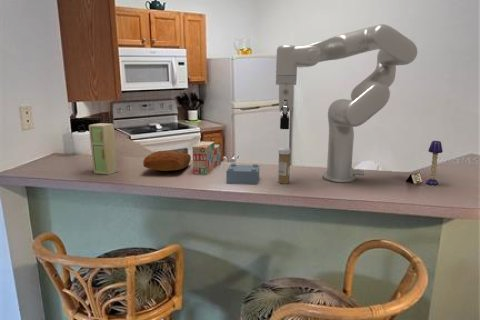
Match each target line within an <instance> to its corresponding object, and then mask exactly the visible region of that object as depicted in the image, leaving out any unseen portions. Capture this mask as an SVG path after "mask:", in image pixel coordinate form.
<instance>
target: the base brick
mask: <svg viewBox="0 0 480 320" xmlns="http://www.w3.org/2000/svg"><path fill="white" fill-rule="evenodd" d="M258 164H259V163H252V164H236V163H235V162H231V163H230V164H229V166H228V167H227V169H226V175H225V176H226V184H239V185H258V183H259V181H260V165H258Z"/></svg>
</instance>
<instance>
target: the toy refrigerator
mask: <svg viewBox="0 0 480 320" xmlns="http://www.w3.org/2000/svg"><path fill="white" fill-rule="evenodd" d="M88 131H89V132H88V133H89V139H90V140H89V141H90V149H91V157H92V159H91V160H92V166H93V173H94V174H99V175H100V174H101V175H107V174H108V175H111V174H113V173H116V172H119V163H118V153H117V151H118V150H117V143H116V133H115V132H116V131H115V124H114V123H107V122H106V123H101V122H99V123H93V124H88Z"/></svg>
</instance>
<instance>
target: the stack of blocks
mask: <svg viewBox="0 0 480 320" xmlns="http://www.w3.org/2000/svg"><path fill="white" fill-rule="evenodd" d="M215 143H216V142H215V141H203V140H202V141H200V142H198V143H197V144H194V145H193V146H192V147H191V148H192V174H193V175H205V176H206V175H208V174H210V173H211V172H213V170H215V169H216V168H217V167H218V166H220V165H221V164H222V162H221V161H222V160H221V159H222V158H221V157H222V156H221V144H215Z"/></svg>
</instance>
